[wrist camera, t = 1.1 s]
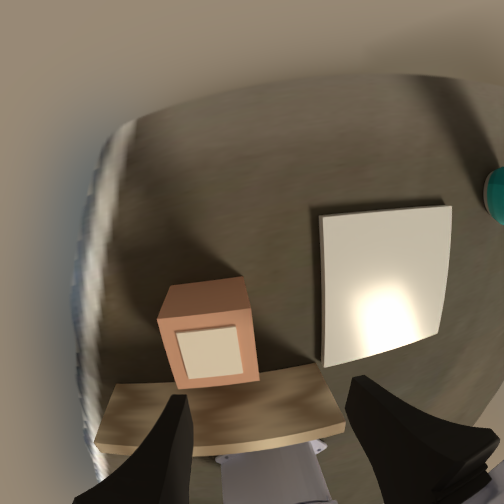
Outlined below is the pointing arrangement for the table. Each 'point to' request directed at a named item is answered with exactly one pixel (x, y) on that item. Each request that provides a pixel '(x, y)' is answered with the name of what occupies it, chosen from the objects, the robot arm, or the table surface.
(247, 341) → the letter block
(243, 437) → the wooden board
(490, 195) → the beverage can
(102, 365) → the table surface
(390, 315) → the tile
